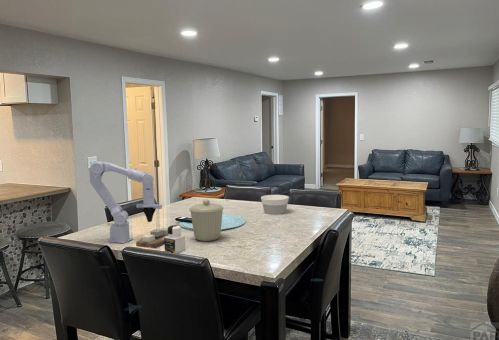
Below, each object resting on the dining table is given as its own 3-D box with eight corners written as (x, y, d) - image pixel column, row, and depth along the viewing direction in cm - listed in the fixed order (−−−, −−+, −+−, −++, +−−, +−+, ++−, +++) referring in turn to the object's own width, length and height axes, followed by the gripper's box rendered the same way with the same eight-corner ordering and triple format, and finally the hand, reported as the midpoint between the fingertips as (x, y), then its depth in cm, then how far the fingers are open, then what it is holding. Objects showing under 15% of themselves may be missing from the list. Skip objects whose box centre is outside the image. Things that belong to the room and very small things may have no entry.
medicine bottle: (164, 251, 185) (163, 226, 184) (175, 247, 191) (174, 223, 190) (175, 253, 181) (174, 228, 180) (185, 249, 187) (184, 225, 186)
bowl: (290, 215, 257) (290, 199, 256) (261, 215, 257) (260, 199, 256) (288, 209, 276) (287, 194, 275) (261, 209, 276) (260, 194, 275)
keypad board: (136, 245, 195) (136, 241, 195) (162, 234, 215) (162, 230, 215) (156, 248, 190) (155, 243, 190) (180, 236, 211) (180, 232, 210)
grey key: (150, 236, 202) (150, 231, 202) (155, 233, 206) (155, 229, 206) (157, 236, 200) (157, 232, 200) (162, 234, 204) (162, 230, 204)
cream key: (141, 241, 196) (141, 236, 195) (147, 238, 200) (147, 234, 200) (149, 242, 194) (149, 237, 194) (154, 239, 198) (154, 235, 198)
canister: (207, 232, 218) (206, 195, 216) (231, 237, 207) (230, 198, 204) (183, 239, 204) (181, 200, 202) (207, 245, 193) (205, 204, 191)
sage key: (158, 234, 208) (158, 229, 208) (163, 232, 213) (163, 227, 212) (165, 234, 207) (165, 230, 206) (170, 232, 211) (170, 228, 211)
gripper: (132, 197, 204) (133, 222, 205) (156, 198, 199) (157, 224, 200) (140, 194, 210) (141, 219, 212) (163, 195, 206) (164, 221, 207)
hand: (149, 221), depth 206 cm, fingers closed
